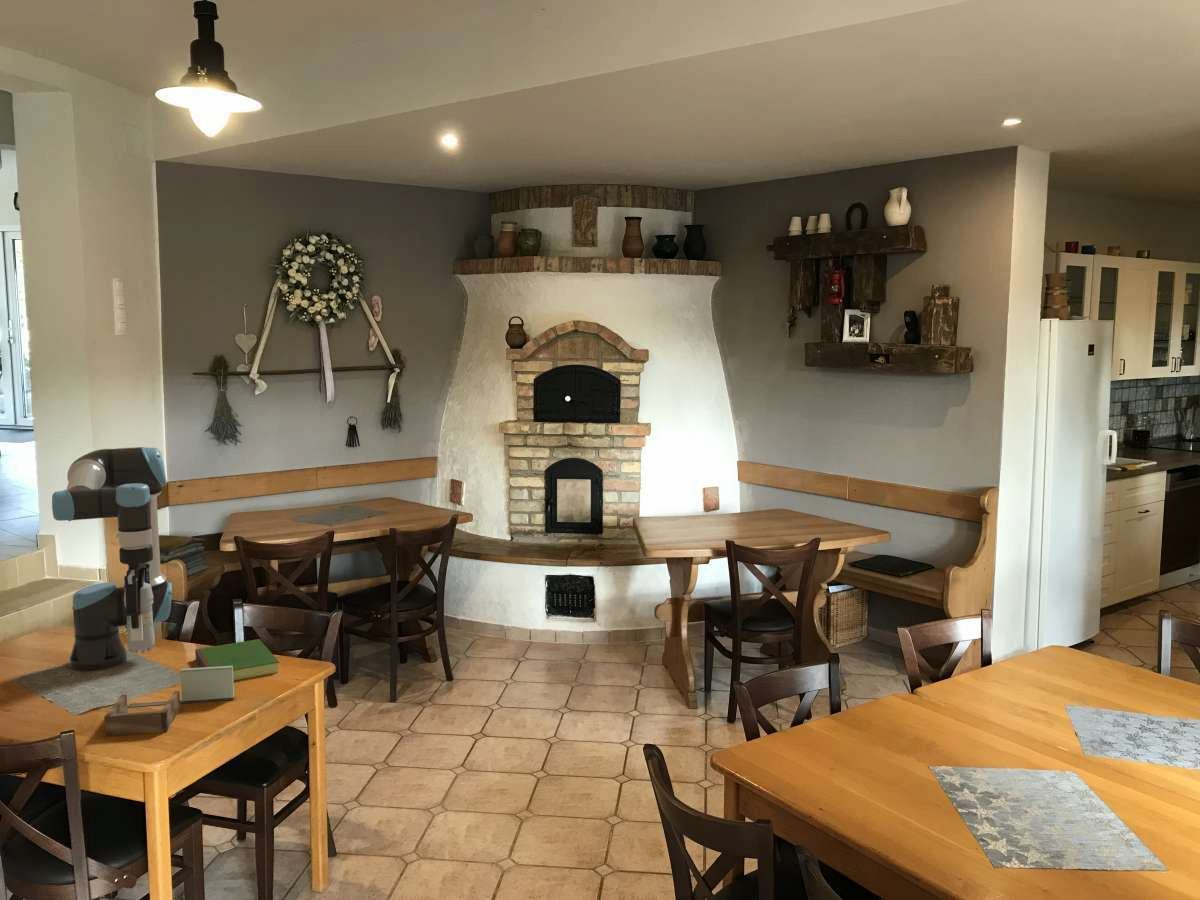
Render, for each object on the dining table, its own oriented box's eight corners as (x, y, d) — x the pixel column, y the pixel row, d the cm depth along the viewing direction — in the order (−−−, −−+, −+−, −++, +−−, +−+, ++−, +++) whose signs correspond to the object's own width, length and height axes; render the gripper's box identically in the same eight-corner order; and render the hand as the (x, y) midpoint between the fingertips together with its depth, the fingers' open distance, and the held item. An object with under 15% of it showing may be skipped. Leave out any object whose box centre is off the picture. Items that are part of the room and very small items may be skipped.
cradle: (129, 704, 250) (127, 686, 249) (235, 697, 255) (234, 679, 254) (105, 736, 230) (104, 716, 229) (221, 727, 235) (220, 708, 235)
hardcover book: (195, 661, 284) (195, 649, 284) (259, 650, 294) (259, 639, 294) (211, 687, 263) (210, 674, 263) (280, 675, 273) (279, 662, 273)
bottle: (144, 656, 233) (140, 577, 231) (120, 654, 235) (116, 576, 232) (162, 647, 240) (158, 570, 237) (138, 645, 241) (134, 569, 239)
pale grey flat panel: (182, 699, 252) (181, 668, 251) (234, 696, 254) (232, 665, 253) (181, 701, 251) (180, 670, 250) (233, 697, 253) (231, 667, 252)
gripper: (130, 538, 243) (135, 625, 245) (107, 555, 224) (113, 649, 227) (161, 537, 244) (166, 623, 247) (141, 554, 225) (146, 647, 228)
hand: (140, 635), depth 237 cm, fingers closed on bottle, 6 cm apart
